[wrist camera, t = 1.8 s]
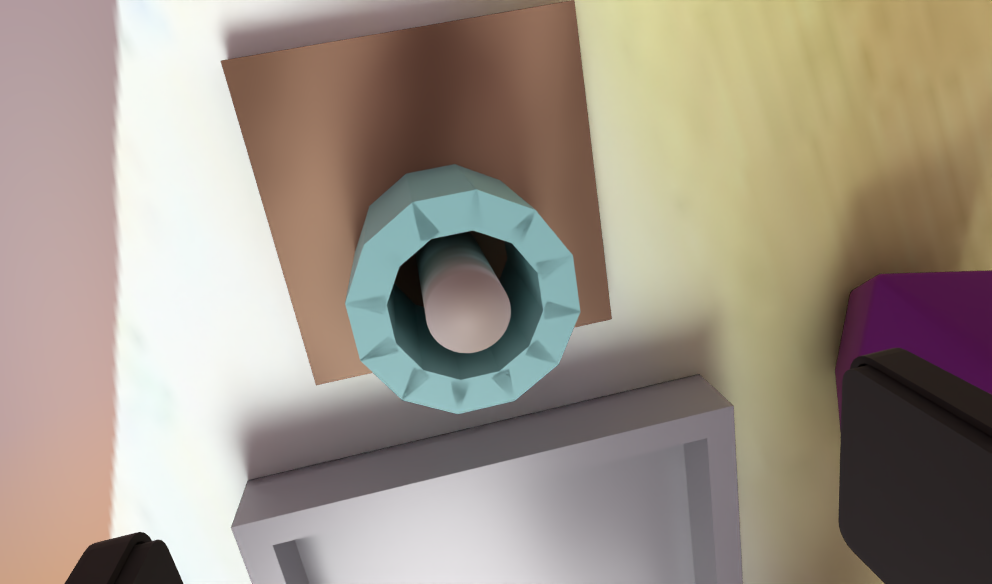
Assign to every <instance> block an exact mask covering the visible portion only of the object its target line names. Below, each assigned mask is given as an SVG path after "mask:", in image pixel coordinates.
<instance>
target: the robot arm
mask: <svg viewBox="0 0 992 584" xmlns="http://www.w3.org/2000/svg"><path fill="white" fill-rule="evenodd" d="M839 527H840V531H841V534H842V536H843V538H844V540H845V542H846V543H847V545H848V546H849V548H850V549H851V550H852V551H853V552H854V553H855V554H856V555H857V556H858V557H859V558H860V559H861V560H862V561H863V562H864V563H865V564H866V565H867V566H868V567H869V568H870V569H871V570H872V571H873V572H874V573H875V574H876V575H877V576H878V577H879V578H880V579H881V580H882V581H883V582H884V583H885V584H992V395H991V394H989V393H988V392H986V391H984V390H982V389H980V388H978V387H976V386H974V385H972V384H970V383H968V382H966V381H965V380H963V379H961V378H959V377H957V376H955V375H953V374H951V373H949V372H947V371H945V370H943V369H942V368H940V367H938V366H936V365H934V364H932V363H930V362H928V361H926V360H924V359H922V358H920V357H919V356H917V355H915V354H913V353H911V352H909V351H907V350H905V349H902V348H891V349H887V350H883V351H879V352H875V353H871V354H867V355H862V356H858V357H857V358H855V359H854V360H853V362H852V364H851V366H850V369H849V370H847V371H846V372H845V373H844V375H843V379H842V408H841V447H840V486H839ZM65 584H183V582H182V579H181V577H180V575H179V572H178V570H177V568H176V566H175V563H174V561H173V559H172V556H171V554H170V552H169V549H168V548H167V546H166V544H165V543H164V542H163V541H162V540H155V541H152V540H151V539H150V537H149V536H148V535H147V534H145V533H142V532H138V533H134V534H130V535H125V536H121V537H117V538H113V539H109V540H105V541H101V542H97V543H94V544H92V545H90V546H89V547H88V548H87V549H86V551H85V552H84V553H83V555H82V556H81V558H80V560H79V561H78V563H77V564H76V566H75V568H74V569H73V571H72V573H71V574H70V576H69V578H68V579H67V581H66V582H65Z"/></svg>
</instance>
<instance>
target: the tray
mask: <svg viewBox="0 0 992 584" xmlns="http://www.w3.org/2000/svg"><path fill="white" fill-rule="evenodd" d="M231 529H232V531H233V534H234V537H235V539H236V542H237V545H238V547H239V550H240V553H241V555H242V558H243V561H244V563H245V566H246V569H247V571H248V574H249V577H250V579H251V582H252V584H743V580H742V561H741V542H740V522H739V503H738V484H737V464H736V445H735V426H734V406H733V405H732V404H731V403H730V402H729V401H728V400H727V399H726V398H725V397H723V396H722V395H721V394H720V393H719V392H718V391H717V390H716V389H715V388H714V387H713V386H712V385H710V384H709V383H708V382H707V381H706V380H705V379H704V378H703V377H702V376H701V375H700V374H698V375H694V376H690V377H685V378H681V379H677V380H673V381H668V382H664V383H660V384H656V385H651V386H647V387H643V388H639V389H635V390H630V391H626V392H622V393H618V394H613V395H609V396H605V397H601V398H596V399H592V400H588V401H584V402H579V403H575V404H571V405H567V406H562V407H558V408H554V409H550V410H546V411H541V412H537V413H533V414H529V415H524V416H520V417H516V418H512V419H507V420H503V421H499V422H495V423H490V424H486V425H482V426H478V427H473V428H469V429H465V430H461V431H457V432H452V433H448V434H444V435H440V436H435V437H431V438H427V439H423V440H418V441H414V442H410V443H406V444H401V445H397V446H393V447H389V448H385V449H380V450H376V451H372V452H368V453H363V454H359V455H355V456H351V457H346V458H342V459H338V460H334V461H329V462H325V463H321V464H317V465H312V466H308V467H304V468H300V469H296V470H291V471H287V472H283V473H279V474H274V475H270V476H266V477H262V478H257V479H253V480H249V481H247V484H246V487H245V490H244V492H243V495H242V498H241V501H240V504H239V507H238V509H237V512H236V515H235V518H234V521H233V523H232V526H231Z"/></svg>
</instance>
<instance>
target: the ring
mask: <svg viewBox="0 0 992 584" xmlns="http://www.w3.org/2000/svg"><path fill="white" fill-rule="evenodd" d="M468 231H476V232H479V233H482V234H486V235H489V236H492V237H495V238H498V239H501V240H504V242H505V248H506V254H507V261H506V264H505V266H504V269H503V272H502V274H501V277H500V280H499V282H500V283H501V285H502V287H503V288H504V290H505V292H506V294H507V296H508V298H509V301H510V307H511V316H510V321H509V324H508V327H507V329H506V331H505V332H504V334H503V335H502V337H501V338H500V339H499V340H498V341H497V342H496V343H494V344H493V345H492V346H490V347H488V348H487V349H484V350H482V351H479V352H474V353H459V352H454V351H452V350H449V349H447V348H445V347H443V346H442V345H441V344H439V343H438V342H437V341H436V340H435V339H434V337H433V336H432V334H431V333H430V331H429V328H428V325H427V321H426V315H425V309H424V307H422V306H418V305H415V304H414V303H413V302H412V301H411V300H410V299H409V298H408V297H407V296H406V295H405V294H404V293H403V292H402V291H401V290H400V289H399V288H398V287H397V286H396V285H395V283H394V281H395V278H396V275H397V272H398V269H399V267H400V266H401V265H402V264H403V263H404V262H405V261H407V260H408V259H409V258H410V257H411V256H412V255H413V254H415V253H416V252H417V251H418V250H419V249H420V248H421V247H423V246H424V245H425V244H426V243H427V242H428V241H430V240H431V239H434V238H438V237H443V236H448V235H453V234H458V233H463V232H468ZM345 305H346V309H347V313H348V316H349V320H350V324H351V328H352V331H353V335H354V339H355V343H356V347H357V350H358V354H359V358H360V361H361V362H362V363H363V364H364V365H365V366H366V367H368V368H369V369H370V370H371V371H372V372H373V373H374V374H375V375H376V376H377V377H378V378H379V379H380V380H381V381H382V382H383V383H384V384H385V385H387V386H388V387H389V388H390V389H391V390H392V391H393V392H394V393H395V394H396V395H397V396H398V397H399V398H400V399H401V400H403V401H407V402H411V403H415V404H419V405H423V406H427V407H431V408H435V409H439V410H443V411H447V412H451V413H455V414H461V413H465V412H470V411H474V410H478V409H482V408H487V407H491V406H495V405H500V404H504V403H508V402H512V401H515V400H516V399H518V398H519V397H520V396H521V395H522V394H524V393H525V392H526V391H527V390H528V389H530V388H531V387H532V386H533V385H534V384H536V383H537V382H538V381H539V380H540V379H542V378H543V377H544V376H545V375H546V374H548V373H549V372H550V371H551V370H552V369H554V368H555V367H556V366H557V365H559V363H560V360H561V358H562V355H563V353H564V350H565V348H566V346H567V343H568V341H569V338H570V336H571V333H572V331H573V329H574V326H575V324H576V321H577V319H578V317H579V314H580V312H581V311H580V305H579V297H578V290H577V282H576V275H575V268H574V260H573V255H572V254H571V253H570V251H569V250H568V249H567V248H566V246H565V245H564V244H563V243H562V242H561V240H560V239H559V238H558V237H557V235H556V234H555V233H554V232H553V231H552V229H551V228H550V227H549V226H548V225H547V223H546V222H545V221H544V220H543V218H542V217H541V216H540V215H539V214H538V212H537V211H536V210H535V209H534V208H533V207H532V206H530V205H529V204H528V203H527V202H526V201H524V200H523V199H522V198H521V197H520V196H518V195H517V194H516V193H515V192H514V191H512V190H511V189H510V188H509V187H508V186H506V185H505V184H504V183H503V182H502V181H500V180H498V179H495V178H492V177H489V176H487V175H484V174H481V173H478V172H475V171H472V170H470V169H467V168H464V167H461V166H458V165H456V164H453V165H448V166H443V167H437V168H432V169H427V170H422V171H417V172H412V173H406V174H405V175H404V176H403V177H402V178H401V179H399V180H398V181H397V182H396V183H395V184H394V185H393V186H392V187H390V188H389V189H388V190H387V191H386V192H385V193H384V194H382V195H381V196H380V197H379V198H378V199H377V200H376V201H375V202H373V203H372V204H371V205H370V206H369V209H368V212H367V216H366V219H365V222H364V225H363V228H362V231H361V235H360V238H359V241H358V244H357V247H356V251H355V254H354V260H353V265H352V270H351V275H350V280H349V285H348V290H347V296H346V301H345Z"/></svg>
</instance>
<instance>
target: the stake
mask: <svg viewBox="0 0 992 584" xmlns="http://www.w3.org/2000/svg"><path fill="white" fill-rule="evenodd" d="M221 64H222V67H223V70H224V74H225V77H226V81H227V84H228V87H229V91H230V94H231V98H232V101H233V104H234V108H235V111H236V115H237V118H238V121H239V125H240V128H241V132H242V135H243V138H244V142H245V145H246V149H247V152H248V155H249V159H250V162H251V166H252V169H253V172H254V176H255V179H256V183H257V186H258V189H259V193H260V196H261V200H262V203H263V206H264V210H265V213H266V217H267V220H268V223H269V227H270V230H271V233H272V237H273V240H274V244H275V247H276V250H277V254H278V257H279V261H280V264H281V267H282V271H283V274H284V278H285V281H286V284H287V288H288V291H289V295H290V298H291V301H292V305H293V308H294V312H295V315H296V318H297V322H298V325H299V329H300V332H301V335H302V339H303V342H304V346H305V349H306V352H307V356H308V359H309V363H310V366H311V369H312V373H313V376H314V380H315V383H316V385H320V384H324V383H329V382H333V381H338V380H342V379H346V378H351V377H355V376H360V375H364V374H369V373H373V372H372V371H371V370H370V369H369V368H368V367H366V366H365V365H364V364H363V363H362V362H361V361H360V358H359V354H358V350H357V347H356V343H355V339H354V335H353V331H352V328H351V324H350V320H349V316H348V313H347V309H346V305H345V301H346V296H347V290H348V285H349V280H350V275H351V270H352V265H353V260H354V254H355V251H356V247H357V244H358V241H359V238H360V235H361V231H362V228H363V225H364V222H365V219H366V216H367V212H368V209H369V206H370V205H371V204H372V203H373V202H375V201H376V200H377V199H378V198H379V197H380V196H381V195H382V194H384V193H385V192H386V191H387V190H388V189H389V188H390V187H392V186H393V185H394V184H395V183H396V182H397V181H398V180H399V179H401V178H402V177H403V176H404V175H405V174H406V173H412V172H417V171H422V170H427V169H432V168H437V167H443V166H448V165H453V164H456V165H458V166H461V167H464V168H467V169H470V170H472V171H475V172H478V173H481V174H484V175H487V176H489V177H492V178H495V179H498V180H500V181H502V182H503V183H504V184H505V185H506V186H508V187H509V188H510V189H511V190H512V191H514V192H515V193H516V194H517V195H518V196H520V197H521V198H522V199H523V200H524V201H526V202H527V203H528V204H529V205H530V206H532V207H533V208H534V209H535V210H536V211H537V212H538V214H539V215H540V216H541V217H542V218H543V220H544V221H545V222H546V223H547V225H548V226H549V227H550V228H551V229H552V231H553V232H554V233H555V234H556V235H557V237H558V238H559V239H560V240H561V242H562V243H563V244H564V245H565V246H566V248H567V249H568V250H569V251H570V253H571V254H572V255H573V260H574V268H575V275H576V282H577V290H578V297H579V305H580V311H581V312H580V314H579V317H578V319H577V321H576V324H575V326H574V327H579V326H583V325H588V324H592V323H597V322H601V321H606V320H610V319H612V317H611V309H610V300H609V292H608V283H607V275H606V266H605V258H604V249H603V240H602V232H601V223H600V215H599V206H598V198H597V189H596V181H595V172H594V164H593V155H592V147H591V138H590V130H589V121H588V113H587V104H586V96H585V87H584V79H583V70H582V62H581V53H580V45H579V36H578V28H577V19H576V11H575V2H574V0H572V1H567V2H561V3H555V4H549V5H543V6H537V7H532V8H526V9H520V10H514V11H508V12H502V13H497V14H491V15H485V16H479V17H473V18H467V19H462V20H456V21H450V22H444V23H438V24H432V25H427V26H421V27H415V28H409V29H403V30H397V31H392V32H386V33H380V34H374V35H368V36H362V37H357V38H351V39H345V40H339V41H333V42H327V43H322V44H316V45H310V46H304V47H298V48H292V49H287V50H281V51H275V52H269V53H263V54H257V55H252V56H246V57H240V58H234V59H228V60H222V61H221ZM506 261H507V254H506V248H505V242H504V240H501V239H498V238H495V237H492V236H489V235H486V234H482V233H479V232H476V231H468V232H463V233H458V234H453V235H448V236H443V237H438V238H434V239H431V240H430V241H428V242H427V243H426V244H425V245H424V246H423V247H421V248H420V249H419V250H418V251H417V252H416V253H415V254H413V255H412V256H411V257H410V258H409V259H408V260H407V261H405V262H404V263H403V264H402V265H401V266H400V267H399V269H398V272H397V275H396V278H395V281H394V283H395V285H396V286H397V287H398V288H399V289H400V290H401V291H402V292H403V293H404V294H405V295H406V296H407V297H408V298H409V299H410V300H411V301H412V302H413V303H414V304H415V305H418V306H422V307H424V309H425V315H426V321H427V325H428V328H429V331H430V333H431V334H432V336H433V337H434V339H435V340H436V341H437V342H438V343H439V344H441V345H442V346H443V347H445V348H447V349H449V350H452V351H454V352H459V353H474V352H479V351H482V350H484V349H487V348H488V347H490V346H492V345H493V344H494V343H496V342H497V341H498V340H499V339H500V338H501V337H502V335H503V334H504V332H505V331H506V329H507V327H508V324H509V321H510V316H511V307H510V301H509V298H508V296H507V294H506V292H505V290H504V288H503V287H502V285H501V283H500V282H499V280H500V277H501V274H502V272H503V269H504V266H505V264H506Z"/></svg>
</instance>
